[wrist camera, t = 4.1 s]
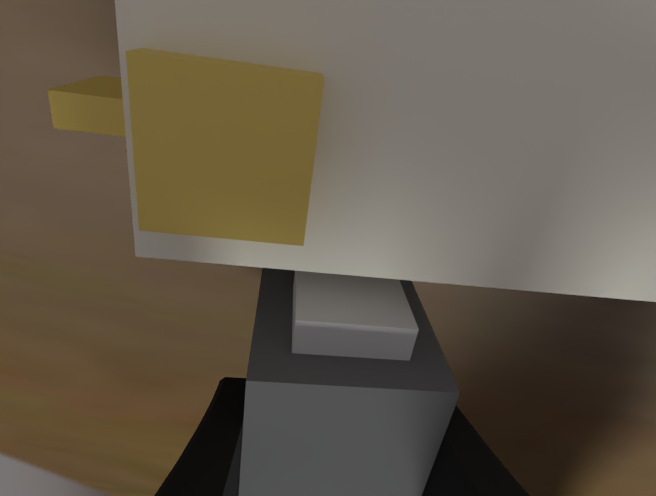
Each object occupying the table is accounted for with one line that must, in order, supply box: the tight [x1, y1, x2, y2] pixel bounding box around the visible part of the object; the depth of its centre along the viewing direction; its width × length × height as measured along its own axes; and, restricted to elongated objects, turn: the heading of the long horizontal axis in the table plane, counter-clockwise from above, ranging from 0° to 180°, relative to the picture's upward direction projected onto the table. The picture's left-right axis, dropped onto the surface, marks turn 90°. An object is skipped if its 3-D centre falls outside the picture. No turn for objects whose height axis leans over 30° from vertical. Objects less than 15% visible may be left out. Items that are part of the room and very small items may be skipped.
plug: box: [238, 268, 460, 496], centre depth 10 cm, size 5×4×4 cm
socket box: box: [48, 0, 656, 302], centre depth 9 cm, size 5×19×7 cm, turn 82°
